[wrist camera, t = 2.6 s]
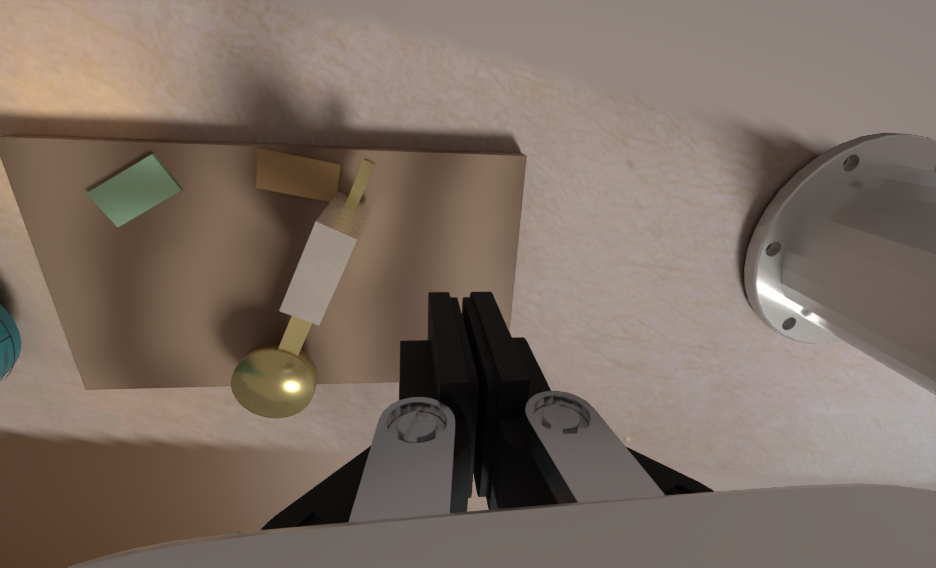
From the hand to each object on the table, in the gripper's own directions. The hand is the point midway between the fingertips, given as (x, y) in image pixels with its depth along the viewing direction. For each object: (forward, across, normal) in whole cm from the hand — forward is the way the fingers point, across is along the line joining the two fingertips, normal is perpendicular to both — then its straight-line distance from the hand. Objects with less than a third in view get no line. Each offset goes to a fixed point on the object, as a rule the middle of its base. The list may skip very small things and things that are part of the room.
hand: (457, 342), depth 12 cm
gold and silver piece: (+11, +6, +3) cm, 13 cm away
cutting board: (+12, +7, +3) cm, 15 cm away
